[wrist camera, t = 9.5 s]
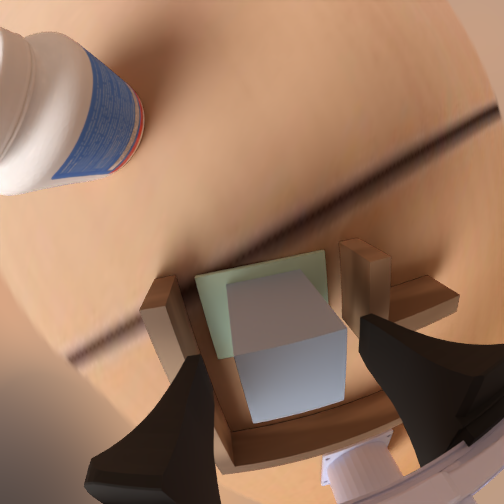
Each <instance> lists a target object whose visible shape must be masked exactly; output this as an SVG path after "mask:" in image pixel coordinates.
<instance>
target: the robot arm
mask: <svg viewBox="0 0 504 504" xmlns="http://www.w3.org/2000/svg"><path fill="white" fill-rule="evenodd" d="M359 353H360V355H361V357H362V359H363V361H364V363H365V365H366V367H367V368H368V370H369V371H370V373H371V374H372V375H373V377H374V378H375V380H376V381H377V382H378V384H379V385H380V386H381V388H382V389H383V391H384V392H385V393H386V395H387V396H388V397H389V399H390V400H391V402H392V404H393V405H394V407H395V409H396V411H397V412H398V414H399V416H400V418H401V420H402V422H403V424H404V426H405V429H406V431H407V433H408V435H409V437H410V440H411V442H412V445H413V447H414V450H415V453H416V455H417V458H418V461H419V464H420V468H419V469H418V470H416V471H414V472H412V473H410V474H408V475H406V476H403V475H402V473H401V471H400V469H399V468H398V466H397V464H396V462H395V461H394V459H393V457H392V455H391V454H390V452H389V450H388V448H387V447H388V444H389V442H390V439H391V436H392V434H393V429H389V430H387V431H385V432H382V433H380V434H378V435H375V436H373V437H371V438H368V439H366V440H363V441H360V442H358V443H355V444H352V445H350V446H347V447H344V448H341V449H338V450H335V451H332V452H329V453H326V454H323V456H322V474H321V485H322V486H325V485H328V484H330V486H331V489H332V491H333V494H334V497H335V499H336V502H337V504H477V503H476V501H475V500H474V498H473V497H472V496H473V495H474V494H475V493H477V492H478V491H479V490H480V489H481V488H483V487H484V486H485V485H486V484H487V483H489V482H490V481H491V480H492V479H493V478H494V477H495V476H496V475H497V474H498V473H500V472H501V471H502V470H503V469H504V344H494V345H473V344H463V343H456V342H450V341H445V340H441V339H437V338H433V337H430V336H427V335H424V334H421V333H418V332H415V331H413V330H410V329H407V328H405V327H403V326H400V325H398V324H396V323H393V322H391V321H389V320H387V319H384V318H382V317H380V316H377V315H375V314H372V313H371V314H368V315H365V316H362V317H360V333H359ZM214 413H215V404H214V394H213V386H212V383H211V381H210V378H209V375H208V373H207V370H206V367H205V364H204V361H203V359H202V356H201V354H198V355H191V356H187V357H186V359H185V361H184V362H183V364H182V366H181V368H180V370H179V371H178V373H177V375H176V377H175V378H174V380H173V381H172V383H171V385H170V386H169V388H168V389H167V391H166V392H165V394H164V395H163V397H162V398H161V400H160V401H159V402H158V404H157V405H156V406H155V408H154V409H153V410H152V411H151V412H150V414H149V415H148V416H147V417H146V418H145V419H144V420H143V421H142V422H141V423H140V424H139V425H138V426H137V427H136V428H135V429H134V430H133V431H132V432H130V433H129V434H128V435H127V436H125V437H124V438H123V439H122V440H120V441H119V442H118V443H116V444H115V445H113V446H112V447H111V448H109V449H107V450H106V451H104V452H102V453H100V454H99V455H97V456H95V457H93V458H92V459H91V462H90V465H89V468H88V472H87V475H86V479H85V483H84V487H85V489H86V490H87V492H88V493H89V494H91V495H92V496H93V497H94V498H96V499H97V500H98V501H100V502H101V503H103V504H221V501H220V495H219V489H218V483H217V476H216V468H215V459H214Z"/></svg>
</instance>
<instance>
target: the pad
mask: <svg viewBox="0 0 504 504" xmlns="http://www.w3.org/2000/svg"><path fill="white" fill-rule="evenodd" d="M298 269H301V271H302V272H303V273H304V274H305V276H306V277H307V278H308V279H309V281H310V282H311V283H312V284H313V286H314V287H315V288H316V289H317V291H318V292H319V293H320V294H321V296H322V297H323V298H324V299H325V301H326V302H327V303H328V288H327V273H326V260H325V251H324V250H318V251H313V252H309V253H304V254H299V255H294V256H290V257H285V258H280V259H275V260H270V261H265V262H260V263H256V264H251V265H246V266H241V267H236V268H231V269H226V270H221V271H216V272H211V273H206V274H201V275H196V276H195V281H196V285H197V289H198V292H199V296H200V300H201V303H202V307H203V311H204V314H205V318H206V321H207V324H208V328H209V331H210V335H211V338H212V341H213V344H214V348H215V351H216V354H217V357H218V360H219V359H224V358H230V357H234V354H233V346H232V337H231V328H230V318H229V309H228V299H227V289H226V284H231V283H236V282H241V281H246V280H251V279H256V278H260V277H265V276H270V275H275V274H279V273H284V272H289V271H293V270H298Z"/></svg>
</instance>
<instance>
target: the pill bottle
mask: <svg viewBox="0 0 504 504" xmlns="http://www.w3.org/2000/svg"><path fill="white" fill-rule="evenodd" d="M143 130H144V110H143V106H142V103H141V100H140V98H139V97H138V95H137V94H136V92H135V91H134V90H133V89H132V88H131V87H130V86H129V85H128V84H127V83H126V82H125V81H123V80H122V79H121V78H120V77H119V76H117V75H116V74H115V73H114V72H113V71H111V70H110V69H109V68H108V67H107V66H105V65H104V64H103V63H102V62H101V61H99V60H98V59H97V58H96V57H94V56H93V55H92V54H91V53H90V52H88V51H87V50H86V49H85V48H83V47H82V46H81V45H80V44H78V43H77V42H75V41H74V40H73V39H71V38H69V37H68V36H66V35H64V34H61V33H57V32H41V33H36V34H33V35H29V36H27V37H25V38H24V37H22V36H21V35H19V34H17V33H13V32H11V31H9V30H6V29H4V28H2V27H0V194H1V195H9V196H11V195H19V194H24V193H28V192H32V191H37V190H41V189H46V188H51V187H56V186H62V185H67V184H73V183H79V182H86V181H93V180H97V179H101V178H104V177H107V176H109V175H111V174H113V173H115V172H117V171H118V170H119V169H121V168H122V167H123V166H124V165H125V164H126V163H127V162H128V161H129V160H130V159H131V157H132V156H133V154H134V153H135V151H136V149H137V148H138V146H139V143H140V141H141V138H142V135H143Z"/></svg>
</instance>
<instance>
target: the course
mask: <svg viewBox="0 0 504 504" xmlns="http://www.w3.org/2000/svg"><path fill="white" fill-rule="evenodd" d="M339 250H340V266H341V289H342V318H343V320H344V321H345V322H346V323H347V325H348V326H349V327H350V328H351V330H352V331H353V332H354V333H355V335H356V336H357V337H358V338H359V333H360V317H362V316H365V315H368V314H371V313H372V314H375V315H377V316H380V317H382V318H384V319H387V320H389V321H391V322H393V323H396V324H398V325H400V326H403V327H405V328H407V329H410V330H413V331H416V330H418V329H420V328H423V327H425V326H427V325H430V324H432V323H434V322H436V321H438V320H440V319H442V318H445V317H447V316H449V315H451V314H453V313H455V312H457V308H458V302H459V297H460V295H459V294H457V293H456V292H454V291H453V290H451V289H449V288H448V287H446V286H445V285H443V284H441V283H440V282H438V281H437V280H435V279H433V278H432V277H430V276H428V275H426V276H423V277H421V278H418V279H415V280H412V281H409V282H406V283H402V284H399V285H396V286H393V287H391V256H389V255H388V254H386V253H384V252H382V251H381V250H379V249H377V248H375V247H373V246H372V245H370V244H368V243H366V242H364V241H363V240H361V239H359V238H354V239H349V240H345V241H340V242H339ZM139 311H140V314H141V316H142V319H143V321H144V324H145V327H146V329H147V332H148V334H149V337H150V339H151V341H152V344H153V346H154V348H155V351H156V353H157V355H158V358H159V360H160V362H161V364H162V367H163V369H164V371H165V373H166V375H167V377H168V379H169V382H170V384H171V383H172V381H173V380H174V378H175V377H176V375H177V373H178V371H179V370H180V368H181V366H182V364H183V362H184V361H185V359H186V357H187V356H191V355H198V354H200V351H199V348H198V345H197V342H196V339H195V336H194V333H193V330H192V327H191V324H190V321H189V318H188V315H187V311H186V308H185V305H184V302H183V298H182V295H181V292H180V288H179V285H178V281H177V278H176V275H173V276H167V277H162V278H157V279H154V281H153V283H152V285H151V287H150V289H149V291H148V293H147V295H146V297H145V299H144V302H143V304H142V306H141V308H140V310H139ZM213 394H214V404H215V413H214V459H215V464H216V466H217V467H218V469H219V470H220V472H221V473H222V475H224V474H233V473H240V472H247V471H254V470H260V469H265V468H270V467H275V466H280V465H285V464H289V463H293V462H297V461H301V460H305V459H309V458H312V457H316V456H319V455H323V454H326V453H329V452H332V451H335V450H338V449H341V448H344V447H347V446H350V445H352V444H355V443H358V442H360V441H363V440H366V439H368V438H371V437H373V436H375V435H378V434H380V433H382V432H385V431H387V430H389V429H391V428H393V427H396V426H398V425H400V424H402V423H403V422H402V420H401V418H400V416H399V414H398V412H397V411H396V409H395V407H394V405H393V404H392V402H391V400H390V399H389V397H388V396H387V395H386V393H385V392H384V391H383V390H382V391H380V392H377V393H375V394H372V395H370V396H367V397H364V398H362V399H359V400H356V401H354V402H351V403H348V404H345V405H342V406H339V407H336V408H333V409H330V410H326V411H323V412H320V413H316V414H313V415H309V416H306V417H302V418H298V419H294V420H290V421H286V422H282V423H278V424H273V425H268V426H264V427H259V428H253V429H248V430H242V431H236V432H231V431H230V429H229V427H228V424H227V422H226V419H225V417H224V415H223V412H222V410H221V407H220V405H219V402H218V400H217V397H216V395H215V392H214V389H213Z"/></svg>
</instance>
